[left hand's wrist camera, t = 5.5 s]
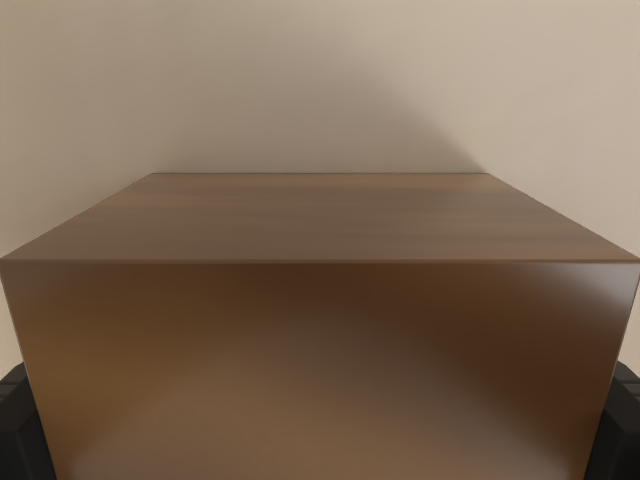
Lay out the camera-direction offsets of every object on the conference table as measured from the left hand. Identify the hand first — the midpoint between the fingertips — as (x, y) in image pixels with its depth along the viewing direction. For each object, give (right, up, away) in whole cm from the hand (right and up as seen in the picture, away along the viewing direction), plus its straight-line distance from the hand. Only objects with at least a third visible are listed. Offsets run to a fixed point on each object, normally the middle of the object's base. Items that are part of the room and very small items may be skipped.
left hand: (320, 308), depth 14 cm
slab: (0, -33, +13) cm, 35 cm away
